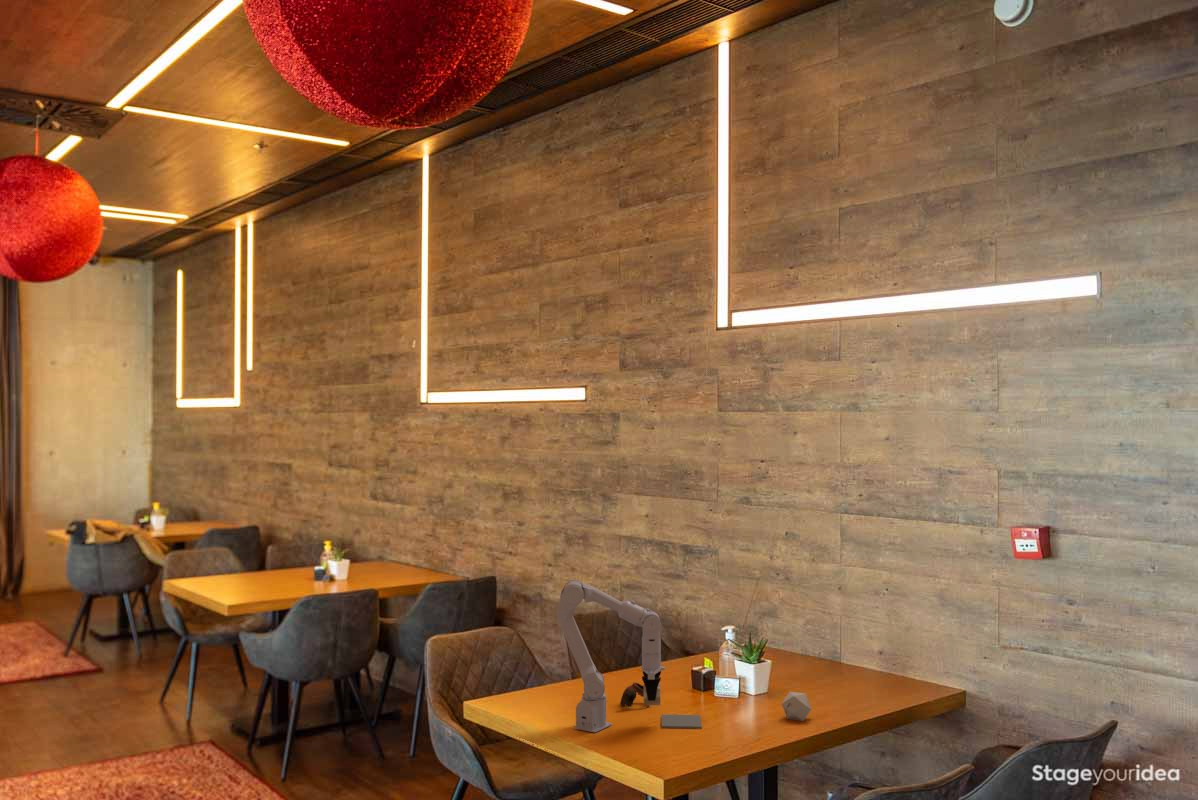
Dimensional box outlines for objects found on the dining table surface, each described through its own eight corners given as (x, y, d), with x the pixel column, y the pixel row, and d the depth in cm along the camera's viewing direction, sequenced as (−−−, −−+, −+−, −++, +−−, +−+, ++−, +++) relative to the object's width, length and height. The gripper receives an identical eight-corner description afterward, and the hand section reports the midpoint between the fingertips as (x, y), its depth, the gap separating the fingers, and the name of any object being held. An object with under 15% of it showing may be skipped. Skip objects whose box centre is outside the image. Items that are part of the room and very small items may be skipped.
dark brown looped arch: (623, 702, 328) (636, 680, 328) (646, 718, 324) (659, 696, 324) (610, 701, 317) (623, 679, 318) (633, 718, 313) (647, 695, 313)
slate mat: (701, 728, 297) (701, 726, 297) (661, 728, 297) (661, 726, 297) (700, 717, 309) (700, 715, 309) (661, 716, 309) (661, 714, 309)
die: (780, 716, 311) (774, 696, 306) (800, 700, 314) (795, 680, 309) (797, 732, 305) (792, 712, 300) (818, 715, 307) (813, 695, 302)
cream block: (660, 705, 297) (660, 688, 297) (643, 705, 297) (643, 688, 297) (660, 700, 302) (660, 684, 302) (644, 700, 302) (643, 684, 302)
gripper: (664, 658, 293) (665, 704, 292) (664, 647, 307) (665, 691, 307) (640, 658, 293) (641, 704, 293) (641, 647, 307) (642, 691, 307)
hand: (651, 697), depth 300 cm, fingers closed on cream block, 5 cm apart
